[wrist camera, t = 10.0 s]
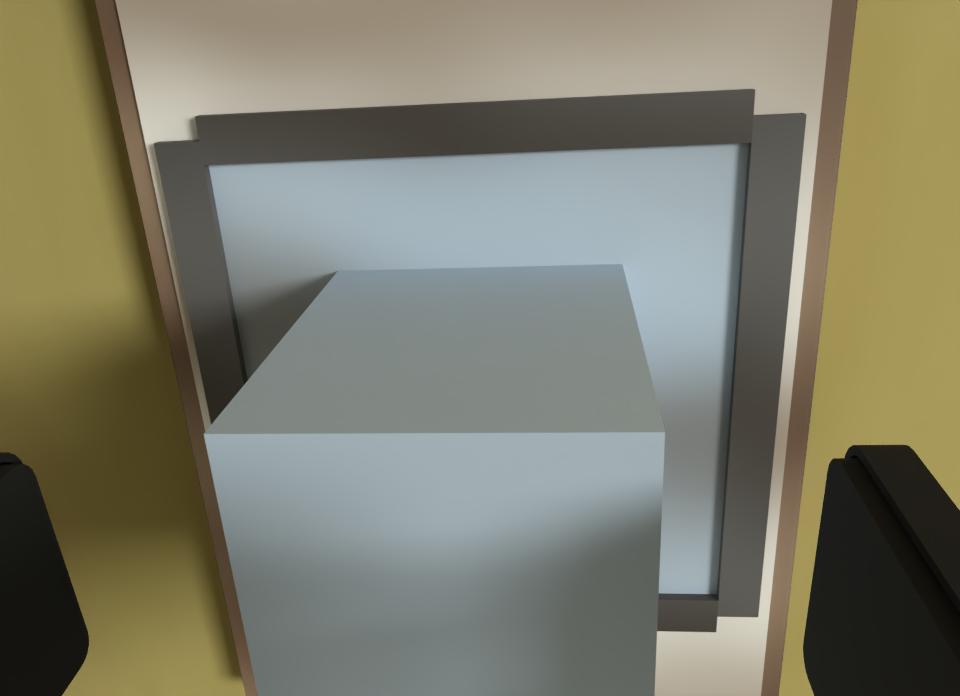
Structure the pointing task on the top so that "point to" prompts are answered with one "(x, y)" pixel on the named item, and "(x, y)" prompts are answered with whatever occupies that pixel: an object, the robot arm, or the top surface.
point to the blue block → (449, 489)
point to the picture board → (520, 225)
